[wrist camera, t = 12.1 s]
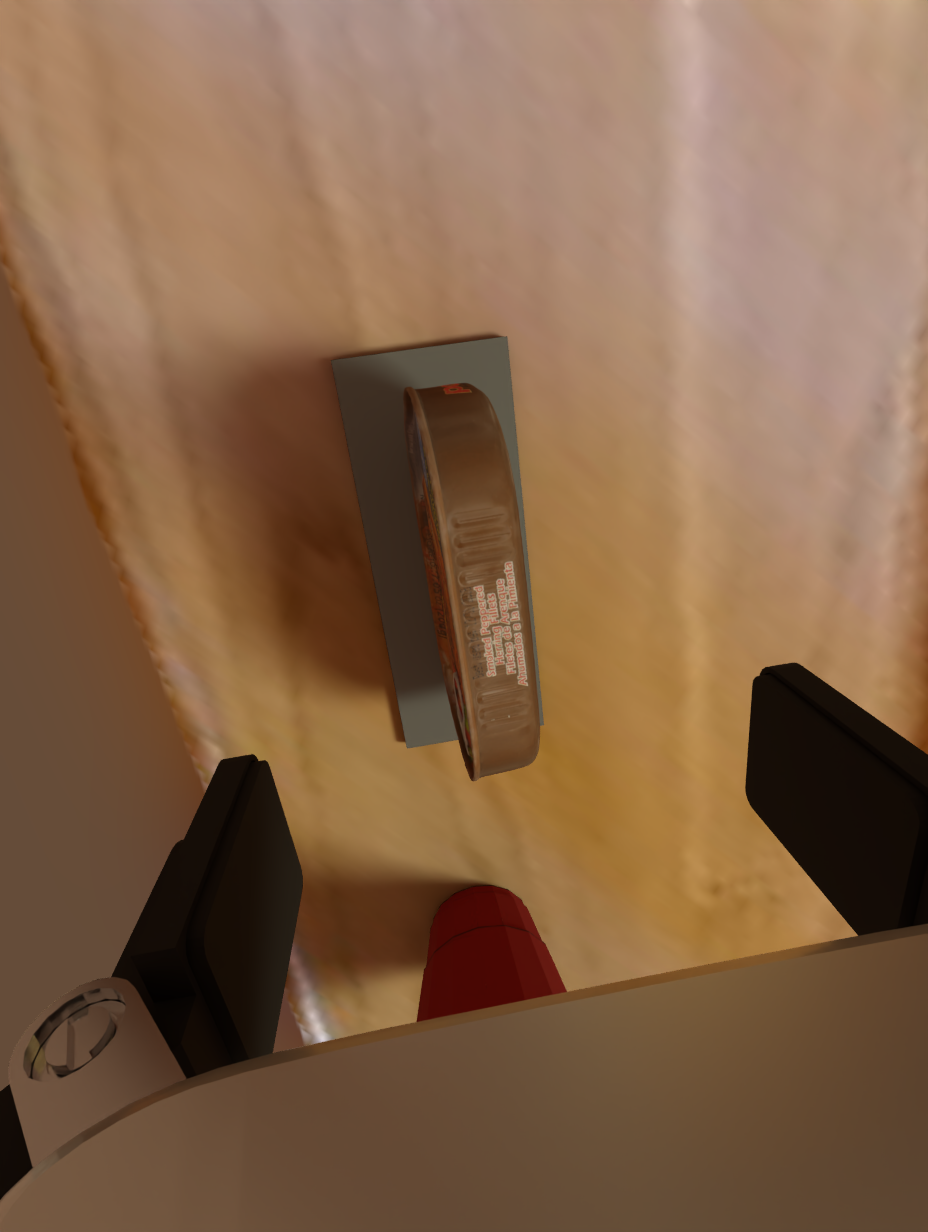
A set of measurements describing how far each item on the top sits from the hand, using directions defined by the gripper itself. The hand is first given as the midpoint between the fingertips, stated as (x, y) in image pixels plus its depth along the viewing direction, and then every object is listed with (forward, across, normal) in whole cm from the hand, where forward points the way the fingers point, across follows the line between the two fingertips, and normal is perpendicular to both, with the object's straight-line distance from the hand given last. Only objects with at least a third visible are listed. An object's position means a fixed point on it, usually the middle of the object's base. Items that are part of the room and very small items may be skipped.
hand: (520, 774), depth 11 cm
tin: (+16, 0, +1) cm, 16 cm away
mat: (+17, 0, +1) cm, 17 cm away
